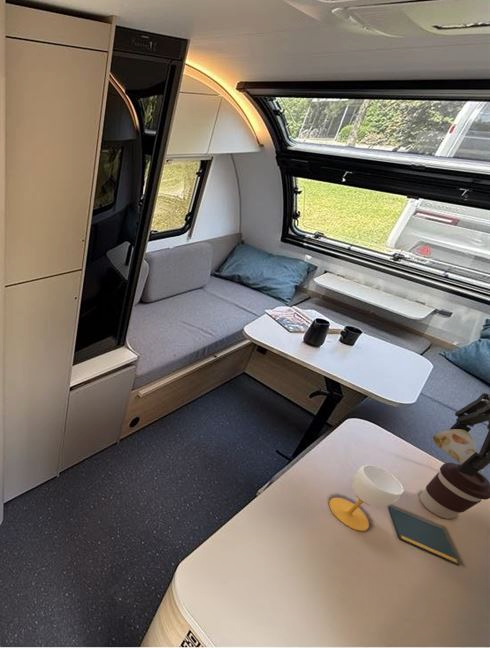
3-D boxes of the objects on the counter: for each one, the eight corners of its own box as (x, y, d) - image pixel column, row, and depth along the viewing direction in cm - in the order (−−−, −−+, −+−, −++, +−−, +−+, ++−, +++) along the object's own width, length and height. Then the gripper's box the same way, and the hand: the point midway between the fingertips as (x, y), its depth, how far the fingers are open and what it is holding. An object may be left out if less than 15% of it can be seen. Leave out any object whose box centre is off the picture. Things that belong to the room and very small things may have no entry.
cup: (325, 512, 98) (358, 477, 90) (332, 491, 104) (363, 456, 95) (366, 538, 93) (404, 503, 84) (370, 515, 98) (407, 480, 90)
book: (442, 529, 97) (443, 528, 96) (458, 565, 89) (460, 564, 89) (387, 506, 101) (388, 505, 101) (399, 539, 93) (400, 538, 93)
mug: (461, 477, 87) (460, 437, 87) (426, 458, 97) (425, 422, 96) (499, 477, 86) (497, 437, 85) (460, 459, 95) (458, 422, 95)
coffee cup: (445, 528, 97) (485, 496, 89) (404, 494, 105) (438, 462, 97) (466, 519, 100) (508, 488, 92) (425, 487, 108) (460, 455, 100)
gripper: (477, 362, 91) (421, 421, 102) (529, 419, 73) (454, 483, 85) (518, 373, 88) (455, 433, 99) (581, 436, 71) (497, 500, 82)
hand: (455, 456), depth 92 cm, fingers closed on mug, 10 cm apart
